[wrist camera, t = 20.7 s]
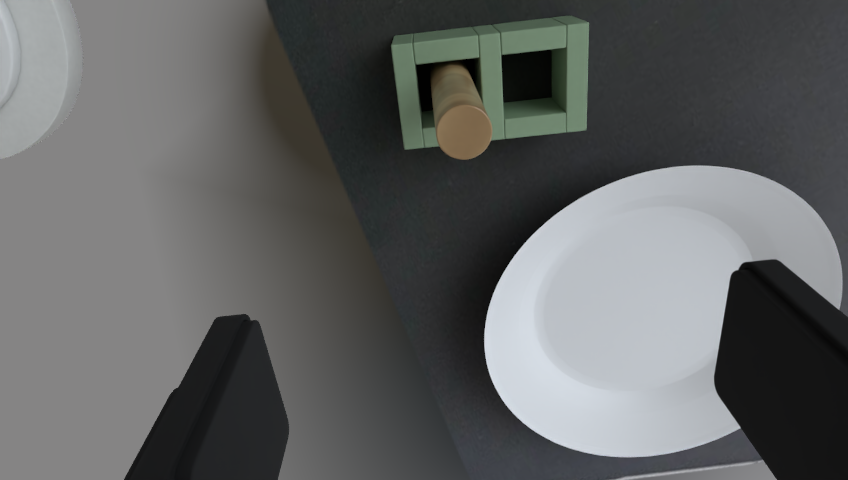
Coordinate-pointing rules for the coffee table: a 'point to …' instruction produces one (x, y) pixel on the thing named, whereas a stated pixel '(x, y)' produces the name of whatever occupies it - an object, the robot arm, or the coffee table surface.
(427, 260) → the coffee table surface
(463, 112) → the stick
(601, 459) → the coffee table surface
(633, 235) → the white plate
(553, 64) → the holder
